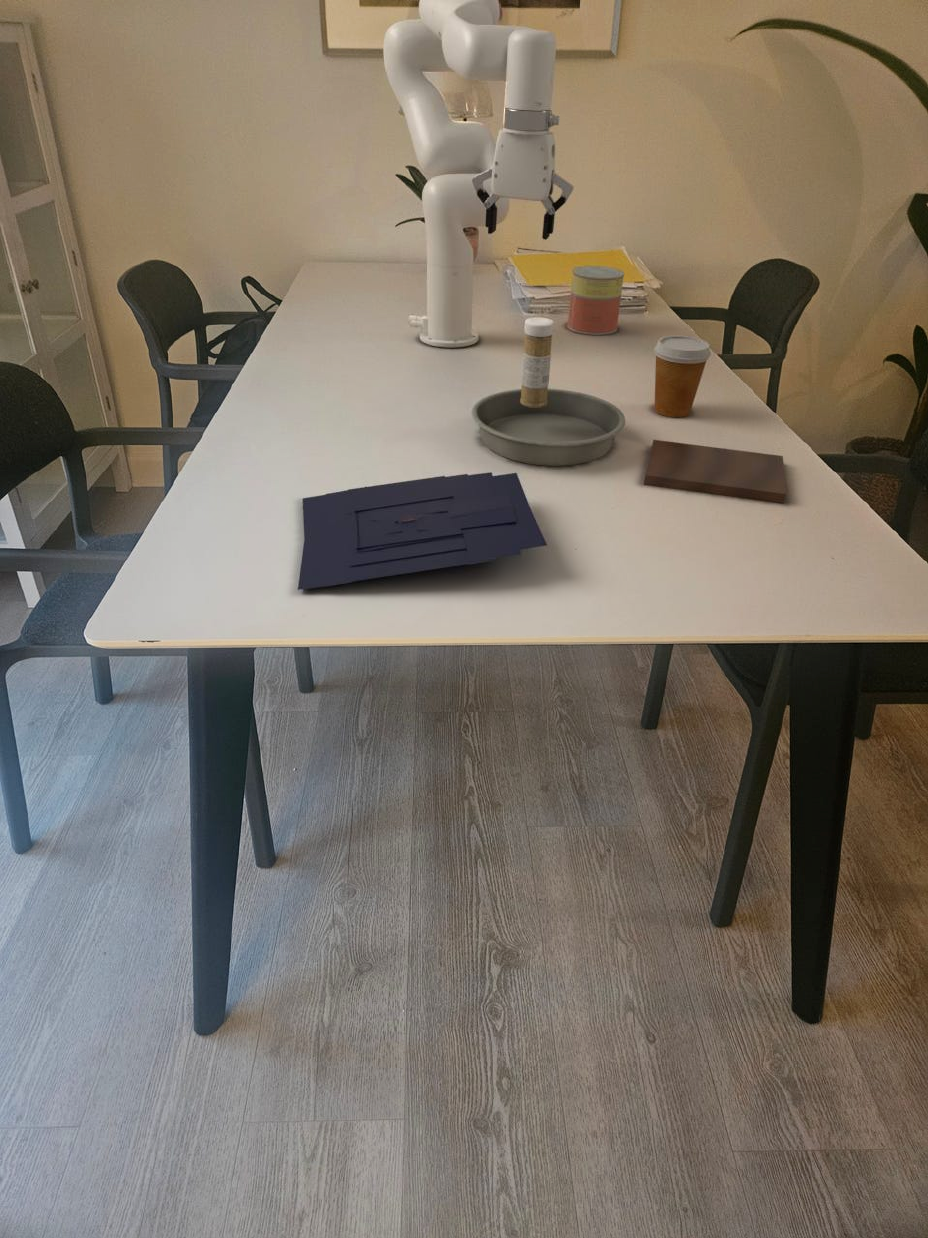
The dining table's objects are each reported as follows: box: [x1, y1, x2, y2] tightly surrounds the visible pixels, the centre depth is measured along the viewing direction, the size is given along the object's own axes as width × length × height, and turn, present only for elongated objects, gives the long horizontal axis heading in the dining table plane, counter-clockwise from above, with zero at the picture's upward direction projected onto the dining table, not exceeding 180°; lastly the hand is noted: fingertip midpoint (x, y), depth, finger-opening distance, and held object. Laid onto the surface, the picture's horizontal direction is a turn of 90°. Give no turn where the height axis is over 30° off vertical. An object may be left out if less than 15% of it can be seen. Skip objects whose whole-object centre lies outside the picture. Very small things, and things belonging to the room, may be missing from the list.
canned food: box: [566, 265, 625, 336], centre depth 190 cm, size 11×11×12 cm
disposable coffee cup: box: [653, 335, 712, 418], centre depth 149 cm, size 10×10×12 cm
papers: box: [297, 471, 548, 591], centre depth 111 cm, size 24×30×4 cm
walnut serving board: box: [643, 439, 787, 504], centre depth 130 cm, size 20×14×2 cm
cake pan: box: [471, 388, 626, 467], centre depth 139 cm, size 25×25×4 cm
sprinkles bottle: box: [520, 316, 555, 408], centre depth 137 cm, size 5×5×14 cm
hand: (518, 234), depth 149 cm, fingers open, 9 cm apart
